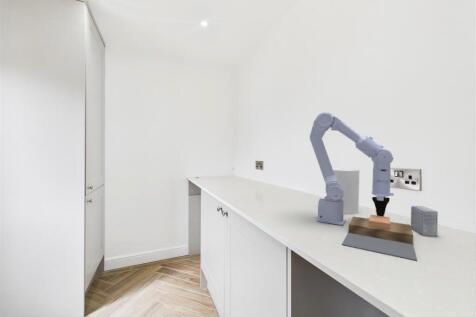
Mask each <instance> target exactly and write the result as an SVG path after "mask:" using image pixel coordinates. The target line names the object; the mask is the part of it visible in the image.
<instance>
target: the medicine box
mask: <svg viewBox="0 0 476 317" xmlns="http://www.w3.org/2000/svg"><path fill="white" fill-rule="evenodd" d="M438 216H439V214H438V211H437V210H435V209H432V208H429V207H427V206H424V205H412V206H411V207H410V226H411V229H412V231H415V232H416V233H418V234H420V235H421V236H423V237H436V238H437V237H438V224H439V222H438V218H439V217H438Z"/></svg>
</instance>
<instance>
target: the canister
mask: <svg viewBox="0 0 476 317" xmlns="http://www.w3.org/2000/svg"><path fill="white" fill-rule="evenodd" d="M332 169H333V171H334V174H335V177H336V179H337V182H338V184H339V185H340V186H341V187H342V189H343V191H344V195H343V197H342V198H343V199H344V210H343V215H356V214H359V206H360V205H359V204H360V203H359V201H360V196H359V195H360V169H355V168H354V169H353V168H332Z"/></svg>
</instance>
